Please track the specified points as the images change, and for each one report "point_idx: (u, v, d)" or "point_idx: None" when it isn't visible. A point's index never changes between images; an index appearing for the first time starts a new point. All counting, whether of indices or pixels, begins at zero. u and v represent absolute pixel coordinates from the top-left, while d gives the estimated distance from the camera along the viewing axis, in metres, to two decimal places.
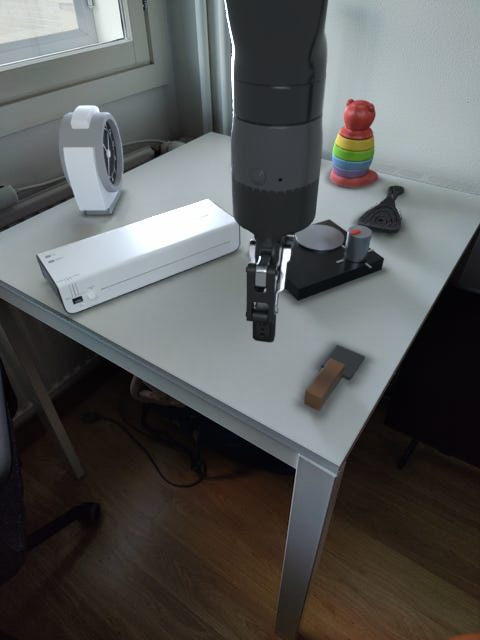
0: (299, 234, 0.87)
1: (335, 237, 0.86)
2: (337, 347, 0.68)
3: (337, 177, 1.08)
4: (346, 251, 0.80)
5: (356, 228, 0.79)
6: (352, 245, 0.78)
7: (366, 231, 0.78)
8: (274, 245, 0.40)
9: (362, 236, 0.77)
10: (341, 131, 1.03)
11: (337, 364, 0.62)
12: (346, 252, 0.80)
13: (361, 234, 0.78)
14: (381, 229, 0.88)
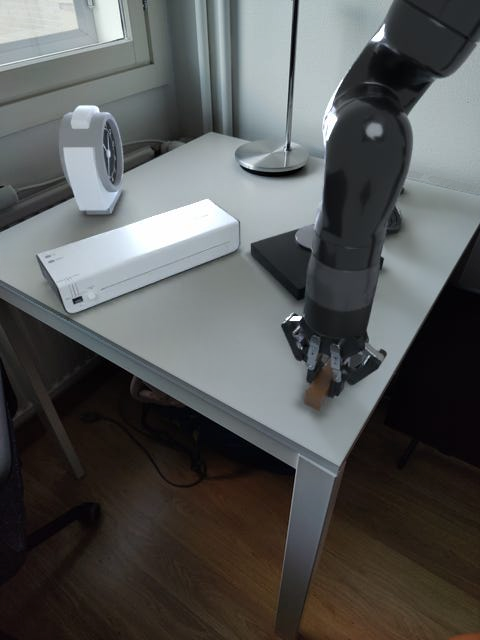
0: (299, 234, 0.87)
1: None
2: None
3: None
4: None
5: None
6: None
7: None
8: (366, 331, 0.53)
9: None
10: None
11: None
12: None
13: None
14: None
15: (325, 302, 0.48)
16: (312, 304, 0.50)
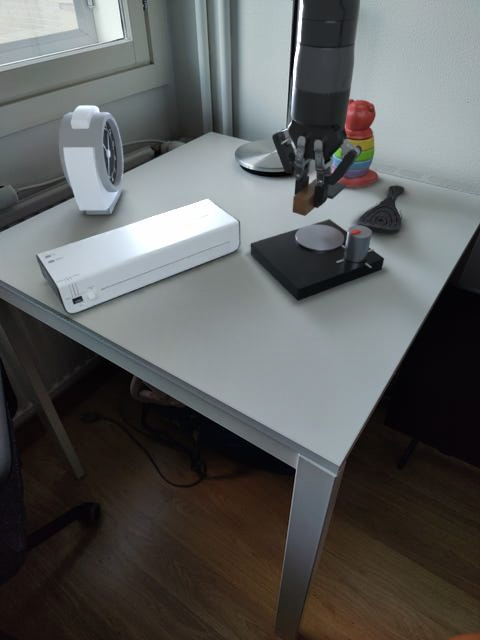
0: (299, 234, 0.87)
1: (335, 237, 0.86)
2: None
3: None
4: (346, 251, 0.80)
5: (356, 228, 0.79)
6: (352, 245, 0.78)
7: (366, 231, 0.78)
8: (344, 127, 0.62)
9: (362, 236, 0.77)
10: None
11: None
12: (346, 252, 0.80)
13: (361, 234, 0.78)
14: (381, 229, 0.88)
15: (309, 86, 0.57)
16: (298, 93, 0.59)
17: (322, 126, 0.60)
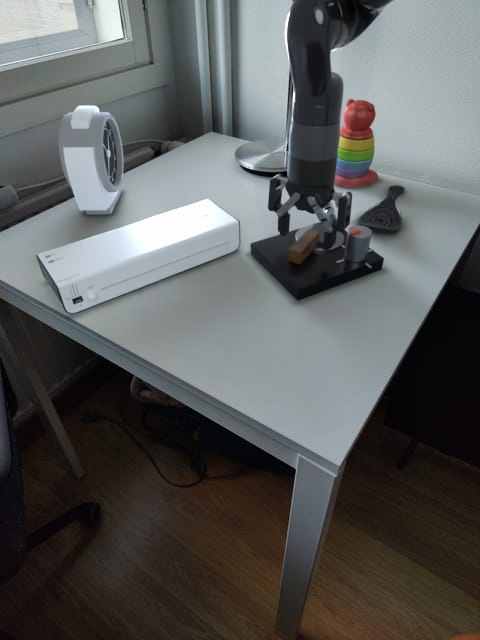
0: (299, 234, 0.87)
1: None
2: (315, 224, 0.87)
3: (337, 177, 1.08)
4: (346, 251, 0.80)
5: (356, 228, 0.79)
6: (352, 245, 0.78)
7: (366, 231, 0.78)
8: (333, 186, 0.72)
9: (362, 236, 0.77)
10: (341, 131, 1.03)
11: (313, 232, 0.82)
12: (346, 252, 0.80)
13: (361, 234, 0.78)
14: (381, 229, 0.88)
15: (301, 155, 0.68)
16: (292, 160, 0.69)
17: (313, 186, 0.70)
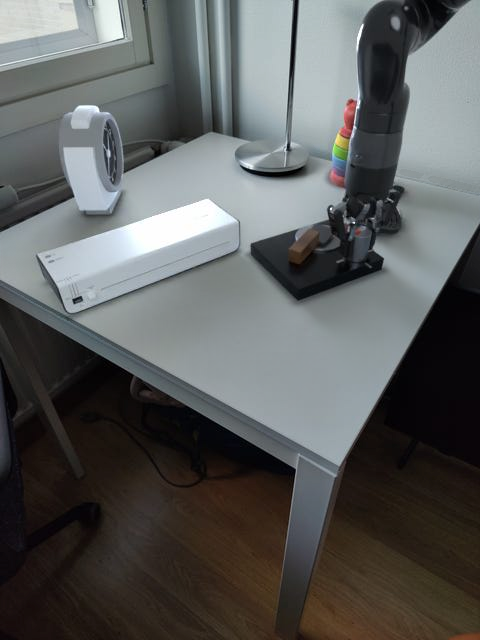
0: (299, 234, 0.87)
1: (335, 237, 0.86)
2: (315, 224, 0.87)
3: (337, 177, 1.08)
4: None
5: None
6: None
7: (366, 231, 0.78)
8: None
9: (362, 236, 0.77)
10: (341, 131, 1.03)
11: (313, 232, 0.82)
12: None
13: (361, 234, 0.78)
14: (381, 229, 0.88)
15: (390, 162, 0.67)
16: (379, 172, 0.68)
17: (391, 188, 0.71)
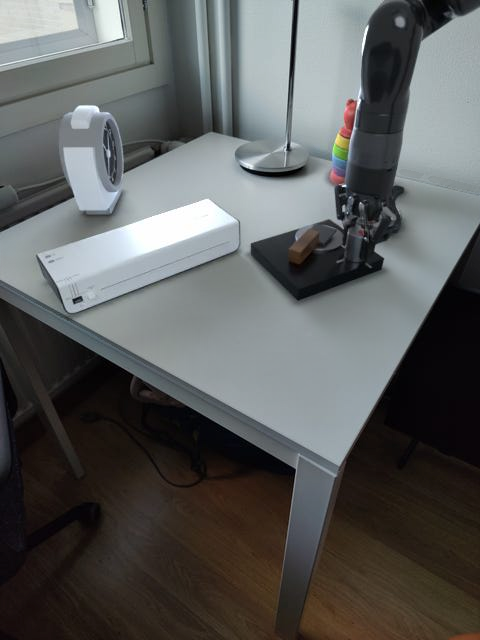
0: (299, 234, 0.87)
1: (335, 237, 0.86)
2: (315, 224, 0.87)
3: (337, 177, 1.08)
4: None
5: (354, 232, 0.78)
6: None
7: (358, 228, 0.79)
8: None
9: None
10: (341, 131, 1.03)
11: (313, 232, 0.82)
12: None
13: None
14: None
15: None
16: None
17: None
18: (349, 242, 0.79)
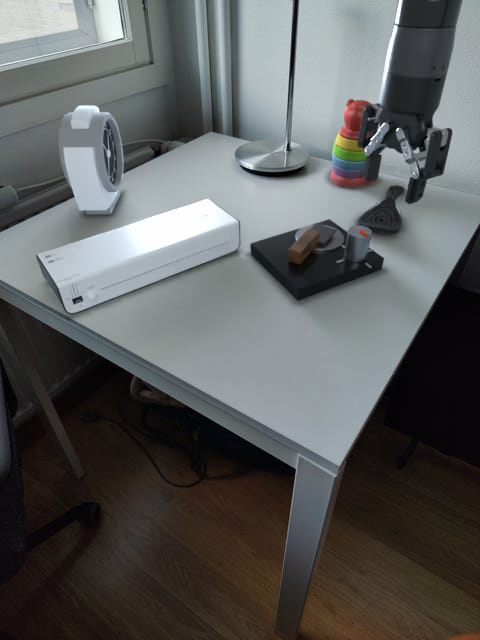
0: (299, 234, 0.87)
1: (335, 237, 0.86)
2: (315, 224, 0.87)
3: (337, 177, 1.08)
4: (362, 255, 0.79)
5: (354, 232, 0.78)
6: (368, 244, 0.79)
7: (358, 228, 0.79)
8: None
9: (369, 230, 0.78)
10: (341, 131, 1.03)
11: (313, 232, 0.82)
12: (362, 256, 0.79)
13: (364, 231, 0.78)
14: (381, 229, 0.88)
15: None
16: None
17: None
18: (349, 242, 0.79)
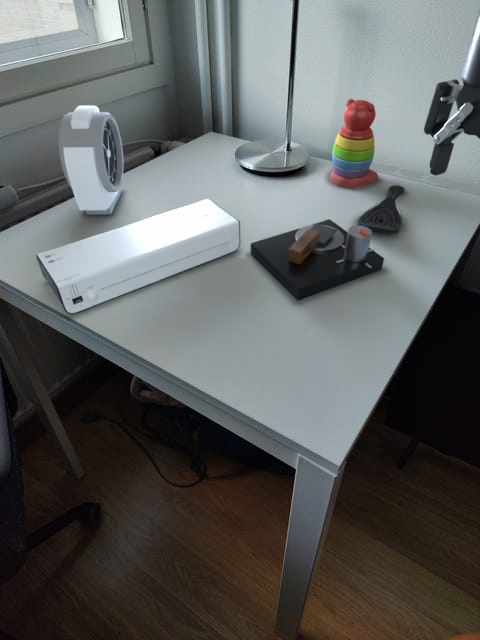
0: (299, 234, 0.87)
1: (335, 237, 0.86)
2: (315, 224, 0.87)
3: (337, 177, 1.08)
4: (362, 255, 0.79)
5: (354, 232, 0.78)
6: (368, 244, 0.79)
7: (358, 228, 0.79)
8: (463, 82, 0.51)
9: (369, 230, 0.78)
10: (341, 131, 1.03)
11: (313, 232, 0.82)
12: (362, 256, 0.79)
13: (364, 231, 0.78)
14: (381, 229, 0.88)
15: None
16: None
17: None
18: (349, 242, 0.79)
